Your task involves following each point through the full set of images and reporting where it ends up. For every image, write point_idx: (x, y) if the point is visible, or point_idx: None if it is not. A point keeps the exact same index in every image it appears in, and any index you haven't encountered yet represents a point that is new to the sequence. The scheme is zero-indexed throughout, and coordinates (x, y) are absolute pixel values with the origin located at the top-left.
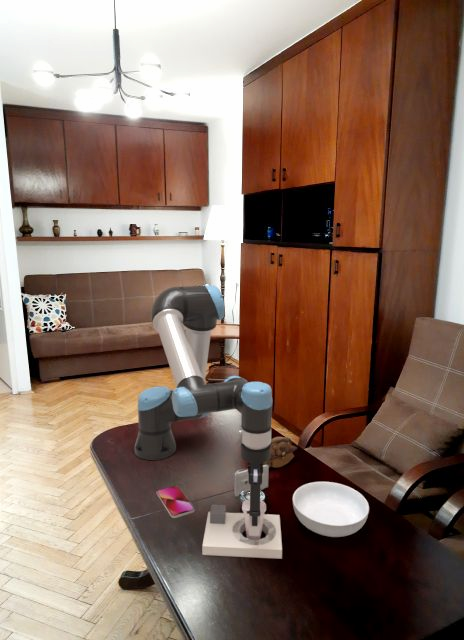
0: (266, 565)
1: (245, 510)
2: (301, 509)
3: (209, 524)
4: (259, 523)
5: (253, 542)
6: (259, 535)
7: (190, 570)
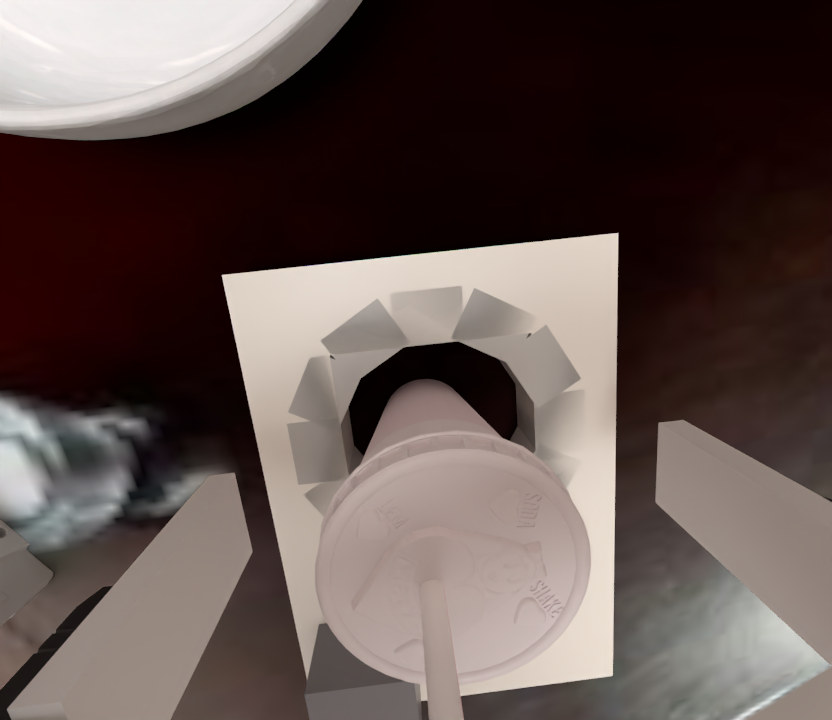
0: (643, 322)
1: (544, 635)
2: (71, 79)
3: None
4: (789, 484)
5: (559, 427)
6: (684, 423)
7: (685, 649)
